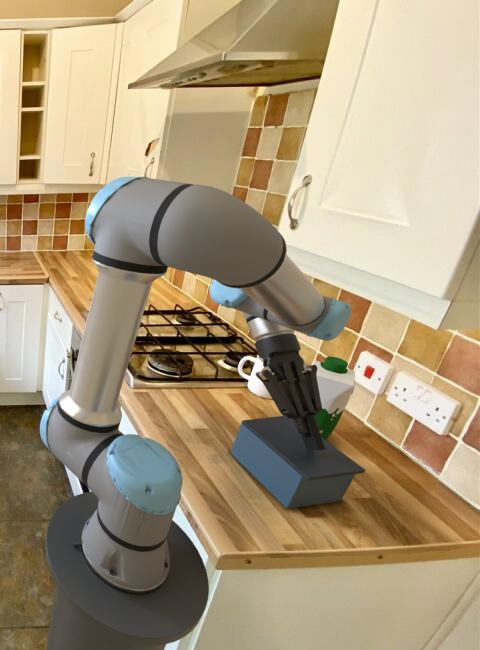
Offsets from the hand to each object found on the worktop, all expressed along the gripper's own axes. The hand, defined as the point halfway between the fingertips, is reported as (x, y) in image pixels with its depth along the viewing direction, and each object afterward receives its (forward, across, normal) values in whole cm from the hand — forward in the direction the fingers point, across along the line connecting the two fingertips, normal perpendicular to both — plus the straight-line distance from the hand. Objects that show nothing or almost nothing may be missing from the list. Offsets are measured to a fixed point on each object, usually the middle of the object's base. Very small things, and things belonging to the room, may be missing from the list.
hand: (316, 450), depth 82 cm
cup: (-16, -20, -32) cm, 41 cm away
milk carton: (-2, -17, -18) cm, 25 cm away
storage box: (+5, 0, -10) cm, 11 cm away
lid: (-1, 0, -4) cm, 4 cm away
